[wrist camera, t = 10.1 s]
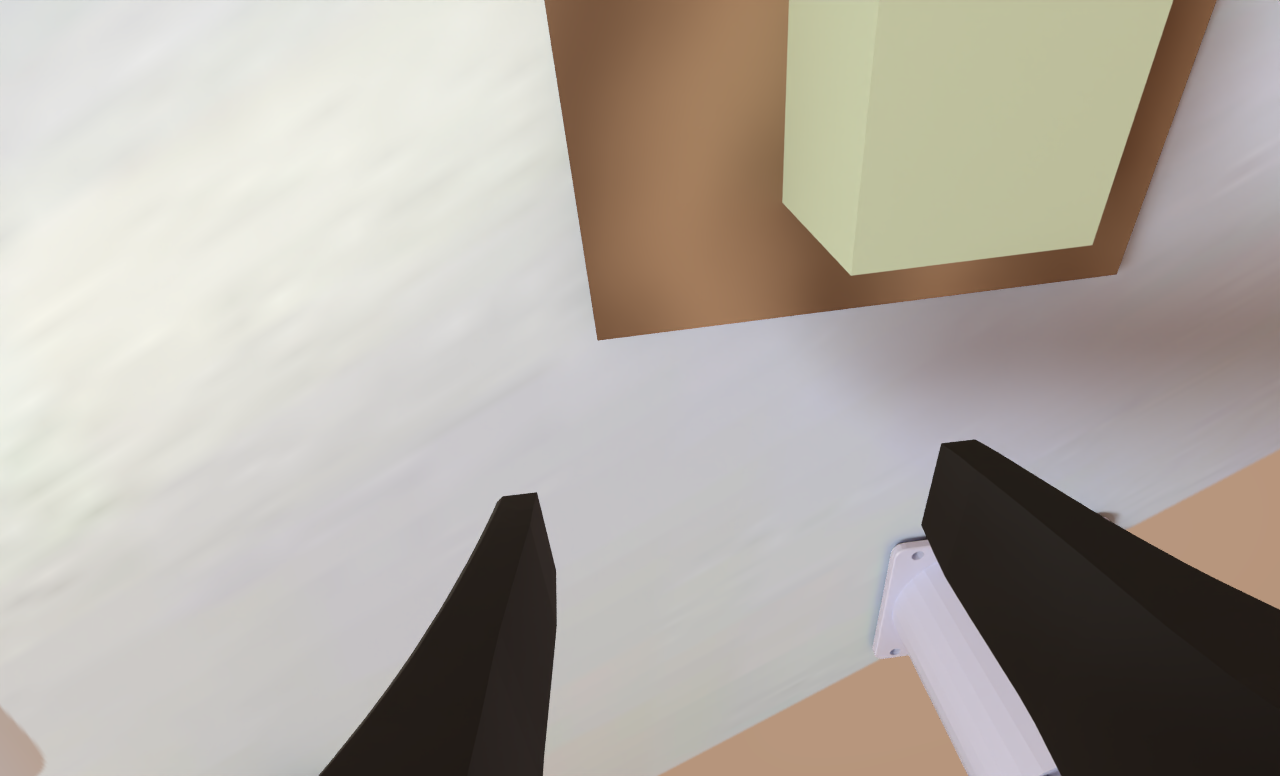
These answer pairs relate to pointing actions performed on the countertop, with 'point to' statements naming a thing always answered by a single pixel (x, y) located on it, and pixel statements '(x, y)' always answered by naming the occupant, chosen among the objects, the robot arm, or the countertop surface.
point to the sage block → (959, 123)
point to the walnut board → (760, 170)
